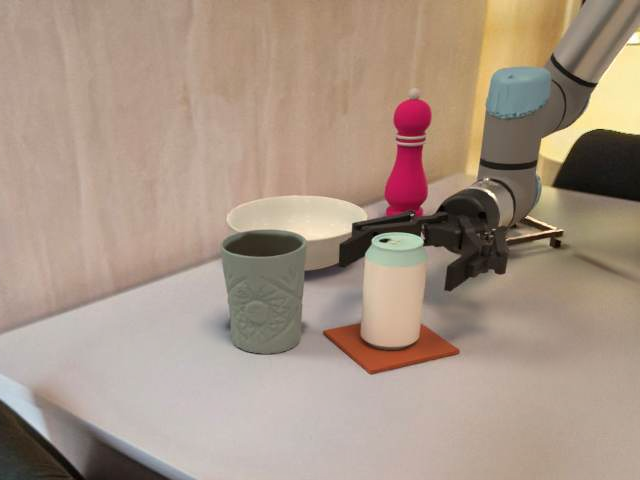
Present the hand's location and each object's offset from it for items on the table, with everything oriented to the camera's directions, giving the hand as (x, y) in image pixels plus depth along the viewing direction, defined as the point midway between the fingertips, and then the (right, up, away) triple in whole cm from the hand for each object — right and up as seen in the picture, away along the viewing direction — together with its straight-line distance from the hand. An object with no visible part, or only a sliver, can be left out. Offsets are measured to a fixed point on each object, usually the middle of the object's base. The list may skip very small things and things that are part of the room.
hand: (393, 267), depth 86 cm
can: (+1, -7, +7) cm, 10 cm away
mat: (+1, -7, +7) cm, 10 cm away
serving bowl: (-9, +11, +31) cm, 34 cm away
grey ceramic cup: (-14, -6, +9) cm, 18 cm away
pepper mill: (+10, +22, +45) cm, 51 cm away
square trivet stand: (+24, +15, +35) cm, 45 cm away
